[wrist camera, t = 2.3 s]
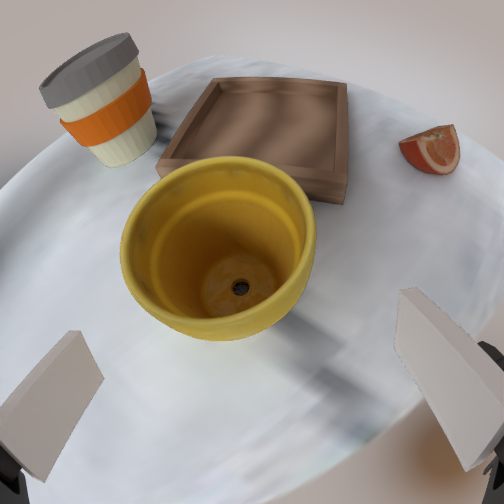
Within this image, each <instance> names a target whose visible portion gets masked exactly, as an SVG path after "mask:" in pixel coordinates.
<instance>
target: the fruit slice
mask: <svg viewBox="0 0 504 504" xmlns="http://www.w3.org/2000/svg"><path fill="white" fill-rule="evenodd" d="M399 146H400V149H401V151H402V153H403V155H404V156H405V158H406V159H407V160H408V161H409V162H410V163H411V164H412V165H413V166H415V167H416V168H418V169H420V170H422V171H424V172H426V173H430V174H435V175H447V174H450V173H452V172H453V171H454V169H455V168H456V166H457V165H458V162H459V159H460V147H459V141H458V137H457V133H456V130H455V128H454V125H453V124H452V125H444V126H437V127H435V128H432V129H430V130H427V131H425V132H423V133H419V134H417V135H414V136H411V137H409V138H406V139H404V140H402V141H400V142H399Z"/></svg>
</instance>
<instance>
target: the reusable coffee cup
mask: <svg viewBox="0 0 504 504" xmlns="http://www.w3.org/2000/svg"><path fill="white" fill-rule="evenodd" d="M138 53H139V50H138V49H137V47H136V45H135V43H134V41H133V40H132V38H131V36H130V34H129V33H121V34H117V35H114V36H111V37H109V38H106V39H104V40H102V41H100V42H98V43H95V44H94V45H92V46H90V47H88V48H86V49H85V50H83V51H81V52H79V53H78V54H76V55H75V56H73V57H72V58H70V59H69V60H67V61H66V62H65V63H63V64H62V65H61V66H59V67H58V68H57V69H56V70H54V72H52V73H51V74H50V75H49V76H48V77H47V78H46V79H45V80H44V81H43V83H42V84H41V85H40V87H39V90H40V92H41V94H42V96H43V99H44V101H45V103H46V105H47V107H48V108H49V109H53V110H54V111H55V112H56V113H57V115H58V116H59V117H60V123H61V124H62V125H63V126H64V127H65V129H66V130H67V131H68V132H69V133H70V134H71V135H72V136H73V137H74V138H75V139H76V140H77V142H78V143H79V144H81V145H82V146H85V147H87V148H88V149H89V150H90V151H91V152H92V153H93V154H94V155H95V156H96V157H97V158H98V159H99V160H100V161H101V162H102V163H103V164H104V165H105V166H107V167H119V166H123V165H125V164H128V163H130V162H132V161H134V160H135V159H137V158H138V157H140V156H141V155H142V154H144V153H145V152H146V151H147V150H148V149H149V148H150V147H151V145H152V144H153V143H154V141H155V139H156V136H157V129H156V125H155V122H154V118H153V115H152V111H151V108H150V105H151V101H152V99H151V95H150V91H149V87H148V83H147V79H146V75H145V71H144V70H143V69H142V68H140V65H139V61H138V57H137V55H138Z"/></svg>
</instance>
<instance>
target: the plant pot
mask: <svg viewBox="0 0 504 504" xmlns="http://www.w3.org/2000/svg"><path fill="white" fill-rule="evenodd" d="M315 247H316V221H315V216H314V212H313V209H312V206H311V204H310V202H309V200H308V198H307V196H306V194H305V193H304V191H303V190H302V188H301V187H300V186H299V185H298V183H297V182H296V181H295V180H294V179H293V178H291V177H290V176H289V175H288V174H287V173H285V172H284V171H282V170H281V169H279V168H277V167H275V166H273V165H271V164H269V163H266V162H264V161H260V160H257V159H253V158H248V157H240V156H220V157H212V158H207V159H202V160H199V161H195V162H192V163H190V164H187V165H185V166H183V167H180V168H178V169H176V170H175V171H173V172H171V173H169V174H168V175H166V176H165V177H163V178H162V179H161V180H160V181H158V182H157V183H156V184H154V185H153V186H152V187H151V188H150V189H149V190H148V191H147V192H146V193H145V194H144V195H143V196H142V198H141V199H140V200H139V202H138V203H137V204H136V206H135V207H134V209H133V210H132V212H131V214H130V216H129V218H128V220H127V222H126V225H125V227H124V230H123V234H122V238H121V244H120V263H121V269H122V273H123V277H124V280H125V282H126V285H127V287H128V289H129V291H130V293H131V294H132V296H133V297H134V298H135V300H136V301H137V302H138V303H139V304H140V305H141V307H142V308H143V309H145V310H146V311H147V312H148V313H149V314H151V315H152V316H153V317H155V318H156V319H158V320H159V321H161V322H162V323H164V324H165V325H167V326H169V327H170V328H172V329H174V330H176V331H178V332H181V333H183V334H185V335H188V336H191V337H194V338H197V339H202V340H208V341H231V340H237V339H242V338H245V337H249V336H251V335H254V334H257V333H259V332H261V331H263V330H265V329H267V328H268V327H270V326H272V325H273V324H275V323H276V322H277V321H279V320H280V319H281V318H282V317H284V316H285V315H286V314H287V313H288V312H289V311H290V310H291V309H292V307H293V306H294V305H295V304H296V302H297V301H298V300H299V298H300V296H301V295H302V293H303V291H304V289H305V286H306V284H307V282H308V279H309V275H310V272H311V268H312V264H313V259H314V253H315ZM238 282H245V283H247V284H248V285H249V290H248V292H247V293H246V294H244V295H236V294H235V293H234V291H233V288H234V286H235V284H237V283H238Z"/></svg>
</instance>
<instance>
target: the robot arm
mask: <svg viewBox="0 0 504 504" xmlns="http://www.w3.org/2000/svg"><path fill="white" fill-rule="evenodd" d="M394 350H395V352H396V353H397V355H398V356H399V358H400V359H401V361H402V362H403V364H404V365H405V367H406V369H407V370H408V372H409V373H410V375H411V377H412V378H413V380H414V381H415V383H416V385H417V386H418V388H419V389H420V391H421V393H422V394H423V396H424V398H425V399H426V401H427V403H428V404H429V406H430V408H431V409H432V411H433V413H434V415H435V416H436V418H437V420H438V422H439V423H440V425H441V427H442V428H443V430H444V432H445V434H446V436H447V438H448V440H449V441H450V443H451V445H452V447H453V449H454V451H455V453H456V455H457V457H458V458H459V460H460V462H461V464H462V466H463V468H464V470H465V472H467V471H469V470H471V469H472V468H474V467H476V466H477V465H479V464H480V463H482V462H483V461H485V460H486V459H487V458H488V456H489V455H490V454H491V453H492V451H493V450H494V451H495V453H496V454H497V456H496V457H495V458H494V459H493V461H492V462H491V463H490V464H489V465H488V466H487V467H486V468H485V470H484V473H483V475H485V474H486V473H487V472H488V471H489V470H490V469H491V468H492V470H491V473H490V478H489V482H488V485H487V489H486V492H485V495H484V499H483V502H482V504H504V356H503V355H502V354H501V353H500V352H499V351H498V350H497V349H496V348H495V347H494V346H492V345H490V344H488V343H485V342H484V341H481V342H479V343H476V342H475V341H474V340H473V339H472V338H471V337H470V336H469V335H468V334H467V333H466V332H465V331H464V330H463V329H462V328H461V327H460V326H458V325H457V324H456V323H455V322H454V321H453V320H452V319H451V318H450V317H449V316H448V315H447V314H446V313H445V312H444V311H442V310H441V309H440V308H439V307H438V306H437V305H436V304H435V303H434V302H433V301H431V300H430V299H429V298H428V297H427V296H426V295H425V294H424V293H422V292H421V291H420V290H419V289H418V288H417V287H413V288H408V289H404V290H400V291H399V301H398V314H397V325H396V334H395V343H394ZM103 380H104V377H103V375H102V373H101V371H100V369H99V368H98V366H97V364H96V362H95V360H94V358H93V356H92V354H91V352H90V350H89V348H88V346H87V344H86V342H85V339H84V337H83V335H82V333H81V331H68V332H67V333H66V334H65V335H64V336H63V337H62V339H61V340H60V341H59V342H58V343H57V344H56V345H55V346H54V347H53V348H52V349H51V350H50V351H49V352H48V353H47V354H46V355H45V356H44V358H43V359H42V360H41V361H40V362H39V363H38V364H37V365H36V366H35V367H34V368H33V370H32V371H31V372H30V373H29V374H28V375H27V376H26V377H25V379H24V380H23V381H22V382H21V383H20V384H19V386H18V387H17V388H16V389H15V390H14V391H13V393H12V394H11V395H10V396H9V397H8V399H7V400H6V401H5V402H4V403H3V405H2V406H1V407H0V504H30V503H29V498H28V492H27V486H26V479H25V476H24V474H23V473H22V472H21V471H20V470H21V469H22V468H23V469H24V470H25V471H26V472H27V473H28V474H30V475H31V476H32V477H33V478H35V479H37V480H39V481H41V482H43V483H45V481H46V479H47V477H48V475H49V473H50V471H51V470H52V468H53V466H54V464H55V462H56V460H57V458H58V456H59V455H60V453H61V451H62V449H63V447H64V446H65V444H66V442H67V440H68V439H69V437H70V435H71V433H72V432H73V430H74V428H75V426H76V425H77V423H78V421H79V420H80V418H81V416H82V414H83V413H84V411H85V409H86V408H87V406H88V404H89V403H90V401H91V400H92V398H93V396H94V395H95V393H96V391H97V390H98V388H99V387H100V385H101V383H102V382H103Z"/></svg>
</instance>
